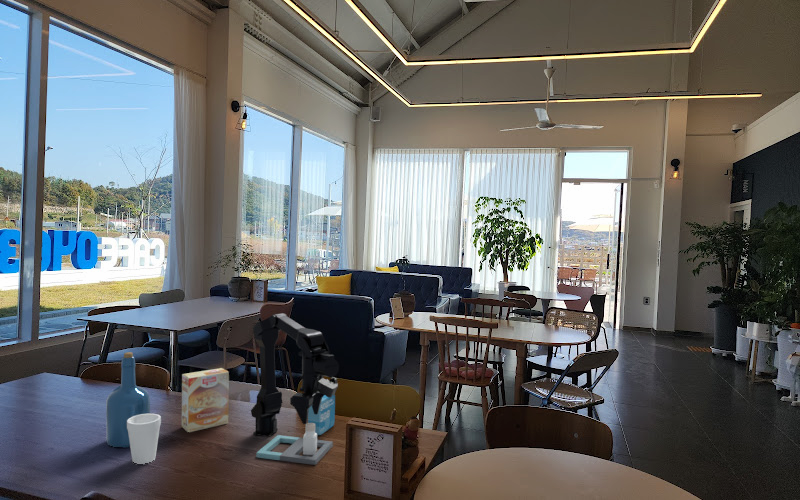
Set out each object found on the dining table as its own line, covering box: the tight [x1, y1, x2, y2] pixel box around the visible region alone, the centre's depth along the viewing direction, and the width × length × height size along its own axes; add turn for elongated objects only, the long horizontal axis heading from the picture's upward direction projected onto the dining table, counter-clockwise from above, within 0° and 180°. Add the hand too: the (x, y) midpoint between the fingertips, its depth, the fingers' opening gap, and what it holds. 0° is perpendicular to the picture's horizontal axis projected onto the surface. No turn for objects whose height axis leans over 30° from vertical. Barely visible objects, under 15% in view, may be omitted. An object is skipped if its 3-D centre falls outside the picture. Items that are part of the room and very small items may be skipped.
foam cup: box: [127, 413, 162, 465], centre depth 167 cm, size 10×9×13 cm
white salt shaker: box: [302, 422, 318, 456], centre depth 175 cm, size 4×4×10 cm
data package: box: [307, 394, 336, 436], centre depth 195 cm, size 12×4×12 cm, turn 160°
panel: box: [255, 434, 334, 466], centre depth 176 cm, size 20×15×2 cm
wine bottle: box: [105, 351, 151, 449], centre depth 181 cm, size 14×13×30 cm
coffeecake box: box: [181, 367, 230, 433], centre depth 197 cm, size 15×7×20 cm, turn 131°
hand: (310, 418), depth 175 cm, fingers open, 9 cm apart
